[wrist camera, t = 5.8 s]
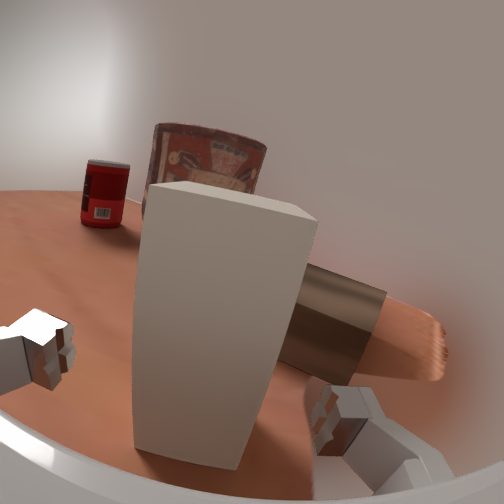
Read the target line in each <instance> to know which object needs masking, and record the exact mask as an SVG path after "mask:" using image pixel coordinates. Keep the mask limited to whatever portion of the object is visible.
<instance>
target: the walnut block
mask: <svg viewBox="0 0 504 504" xmlns="http://www.w3.org/2000/svg"><path fill="white" fill-rule="evenodd" d="M386 294H387V292H385V291H383V290H380V289H377V288H375V287H371V286H369V285H366V284H364V283H361V282H358V281H355V280H352V279H350V278H347V277H345V276H342V275H339V274H336V273H333V272H331V271H328V270H325V269H323V268H320V267H317V266H314V265H312V264H309V263H307V266H306V269H305V273H304V276H303V280H302V283H301V286H300V290H299V293H298V296H297V300H296V303H295V306H294V310H293V313H292V316H291V319H290V322H289V326H288V329H287V332H286V335H285V338H284V341H283V344H282V347H281V350H280V353H279V356H278V359H279V360H281V361H283V362H285V363H287V364H289V365H292V366H294V367H296V368H298V369H300V370H302V371H304V372H307V373H309V374H311V375H313V376H315V377H318V378H320V379H322V380H324V381H327V382H329V383H331V384H334V385H340V386H347V385H348V383H349V381H350V379H351V377H352V375H353V373H354V371H355V369H356V367H357V365H358V363H359V361H360V358H361V356H362V354H363V352H364V350H365V347H366V345H367V343H368V340H369V338H370V336H371V333H372V331H373V328H374V326H375V323H376V321H377V318H378V316H379V313H380V310H381V308H382V305H383V302H384V300H385V297H386Z"/></svg>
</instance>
